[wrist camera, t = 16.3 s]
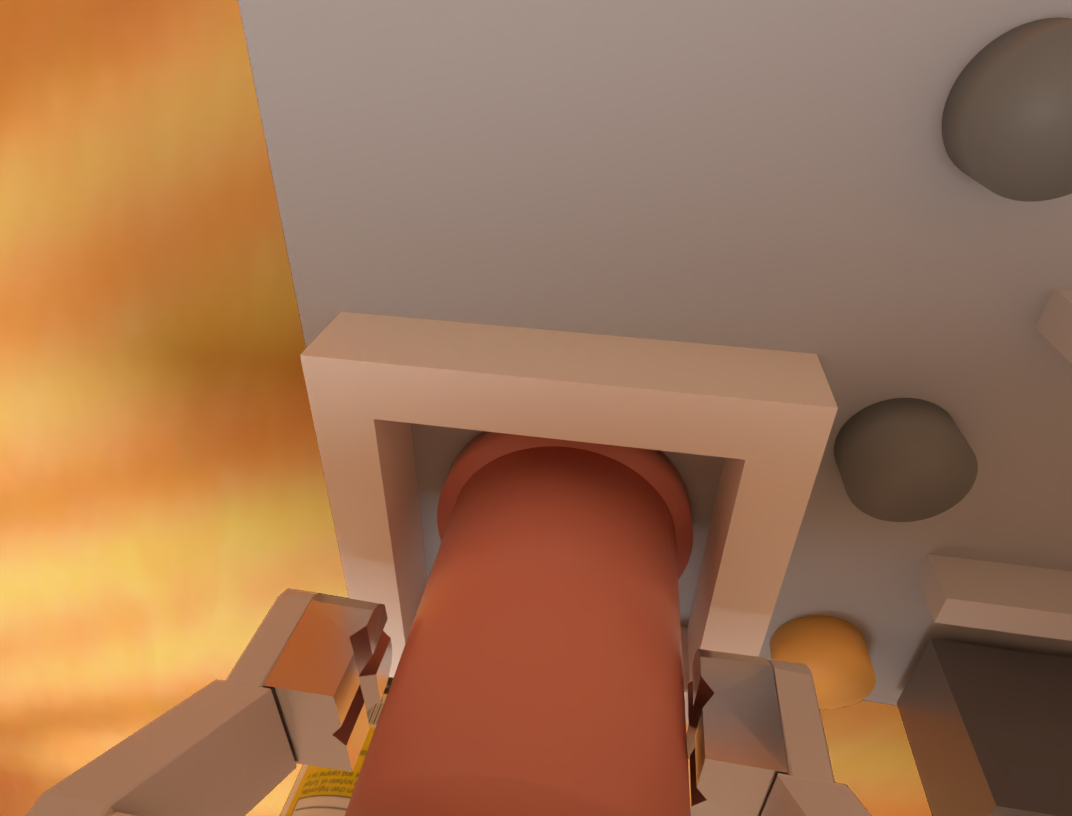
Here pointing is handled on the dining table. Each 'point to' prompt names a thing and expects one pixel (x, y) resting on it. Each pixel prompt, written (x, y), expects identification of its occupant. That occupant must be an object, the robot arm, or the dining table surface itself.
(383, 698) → the supplement bottle
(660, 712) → the cap
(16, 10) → the dining table surface
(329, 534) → the dining table surface
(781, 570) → the panel
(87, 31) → the dining table surface
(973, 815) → the block
